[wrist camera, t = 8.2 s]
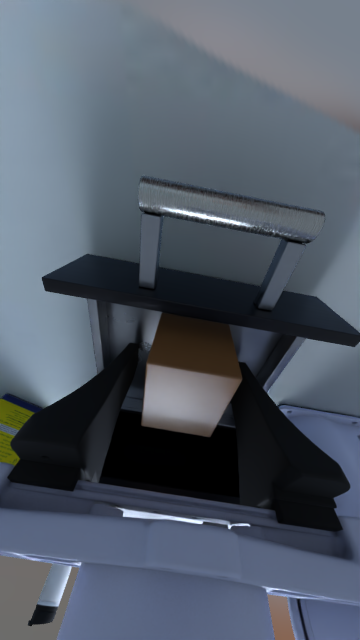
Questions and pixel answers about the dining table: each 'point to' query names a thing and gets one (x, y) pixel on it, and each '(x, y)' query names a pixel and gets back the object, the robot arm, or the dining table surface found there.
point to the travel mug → (51, 595)
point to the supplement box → (12, 424)
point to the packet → (189, 375)
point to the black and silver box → (172, 464)
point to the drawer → (204, 287)
